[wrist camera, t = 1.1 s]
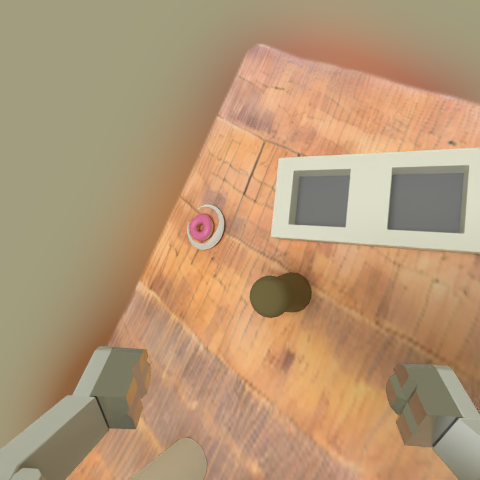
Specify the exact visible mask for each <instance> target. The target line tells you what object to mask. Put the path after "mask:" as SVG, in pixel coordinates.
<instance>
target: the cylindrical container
mask: <svg viewBox="0 0 480 480" xmlns="http://www.w3.org/2000/svg"><path fill="white" fill-rule="evenodd" d="M206 471H207V460H206V456H205V453H204V451H203V449H202V448H201V446H200V445H199V444H198V443H197V442H196V441H195V440H193V439H191V438H182V439H180V440H178V441H177V442H176V443H175V444H173V445H172V446H171V447H169V448H168V449H167V450H166V451H164V452H163V453H162V454H160V455H159V456H158V457H157V458H155V459H154V460H153V461H151V462H150V463H149V464H148V465H146V466H145V467H144V468H143V469H141V470H140V471H139V472H137V473H136V474H135V475H134V476H132V477H131V478H130V479H128V480H203V478H204V477H205V475H206Z"/></svg>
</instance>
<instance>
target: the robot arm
mask: <svg viewBox="0 0 480 480" xmlns="http://www.w3.org/2000/svg"><path fill="white" fill-rule="evenodd" d="M147 358H148V353H147V349H133V348H119V347H104V346H99V347H98V348H97V349H96V350H95V352H94V354H93V356H92V358H91V359H90V361H89V364H88V365H87V367H86V369H85V371H84V373H83V375H82V377H81V379H80V381H79V383H78V385H77V387H76V389H75V391H74V393H73V395H67V396H66V397H65V398H64V399H62V400H61V401H60V402H58V403H57V404H56V405H55V406H54V407H52V408H51V409H50V410H49V411H47V412H46V413H45V414H44V415H43V416H41V417H40V418H39V419H37V420H36V421H35V422H34V423H32V424H31V425H30V426H29V427H28V428H26V429H25V430H24V431H23V432H21V433H20V434H19V435H18V436H16V437H15V438H14V439H13V440H12V441H10V442H9V443H8V444H7V445H5V446H4V447H3V448H2V449H0V480H65V479H66V478H67V477H68V476H69V475H70V474H71V473H72V471H73V470H74V469H75V468H76V467H77V466H78V465H79V464H80V462H81V461H82V460H83V459H84V458H85V457H86V456H87V454H88V453H89V452H90V451H91V450H92V449H93V448H94V447H95V445H96V444H97V443H98V442H99V441H100V440H101V439H102V438H103V436H104V435H105V434H106V433H107V432H108V431H109V429H108V428H113V429H136V428H137V425H138V421H139V418H140V415H141V412H142V408H143V406H142V402H141V399H142V398H143V397H144V396H145V395H146V394H147V392H148V388H149V385H150V378H151V366H150V364H149V363H148V362H147ZM394 371H395V375H393V376H391V377H389V379H388V382H387V387H386V393H387V398H388V401H389V404H390V407H391V408H392V409H393V410H394V411H395V412H396V413H397V414H398V417H397V421H396V423H397V426H398V429H399V431H400V434H401V437H402V439H403V442H404V445H410V446H421V447H433V450H434V451H435V453H436V454H437V455H438V456H439V457H440V458H441V459H442V461H443V462H444V463H445V464H446V465H447V466H448V468H449V469H450V470H451V471H452V472H453V473H454V474H455V476H456V477H457V478H458V479H459V480H480V414H479V412H478V411H477V409H476V408H475V406H474V404H473V403H472V401H471V399H470V398H469V396H468V394H467V393H466V391H465V389H464V388H463V386H462V384H461V383H460V381H459V379H458V378H457V376H456V375H455V373H454V371H453V370H452V369H451V368H450V367H449V366H446V365H430V364H413V363H399V364H397V365H396V366H395V368H394Z"/></svg>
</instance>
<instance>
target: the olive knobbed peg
mask: <svg viewBox="0 0 480 480" xmlns="http://www.w3.org/2000/svg"><path fill="white" fill-rule="evenodd" d="M310 299H311V287H310V284H309V283H308V281H307V280H306V279H305V278H304V277H303V276H302V275H300V274H297V273H291V272H290V273H286V274H283V275H281V276H279V277H275V276H265V277H262V278H260V279H259V280H257V281H256V282H255V283H254V285H253V286H252V289H251V291H250V301H251V304H252V306H253V308H254V310H255V311H256V312H257V313H258V314H260V315H262V316H264V317H269V318H272V317H277V316H279V315H281V314H283V313H284V312H298V311H301V310H303V309H304V308H305V307H306V306H307V305H308V304H309V302H310Z"/></svg>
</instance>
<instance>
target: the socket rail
mask: <svg viewBox="0 0 480 480" xmlns="http://www.w3.org/2000/svg"><path fill="white" fill-rule="evenodd" d="M271 237H273V238H277V239H284V240H297V241H310V242H323V243H336V244H349V245H363V246H376V247H389V248H402V249H415V250H428V251H441V252H455V253H468V254H480V148H463V149H444V150H425V151H405V152H386V153H367V154H348V155H329V156H310V157H291V158H279V163H278V173H277V182H276V192H275V202H274V211H273V221H272V231H271Z"/></svg>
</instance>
